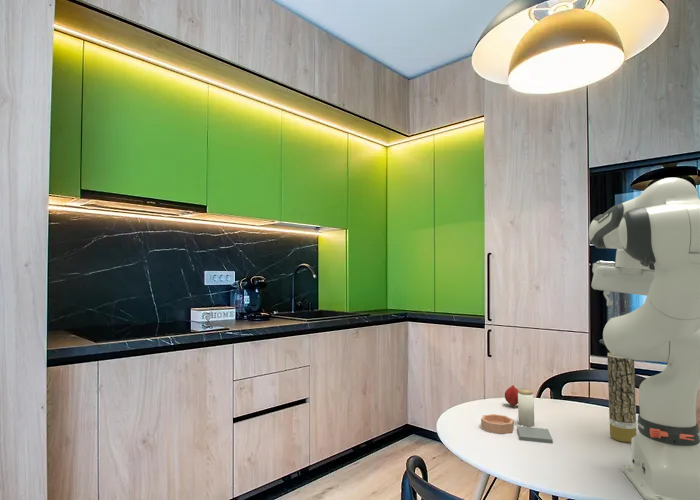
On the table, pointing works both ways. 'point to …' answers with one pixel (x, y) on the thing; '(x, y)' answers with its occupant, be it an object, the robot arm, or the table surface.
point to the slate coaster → (534, 434)
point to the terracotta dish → (497, 423)
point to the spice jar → (526, 407)
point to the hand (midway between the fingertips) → (627, 308)
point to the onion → (512, 395)
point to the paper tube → (621, 398)
